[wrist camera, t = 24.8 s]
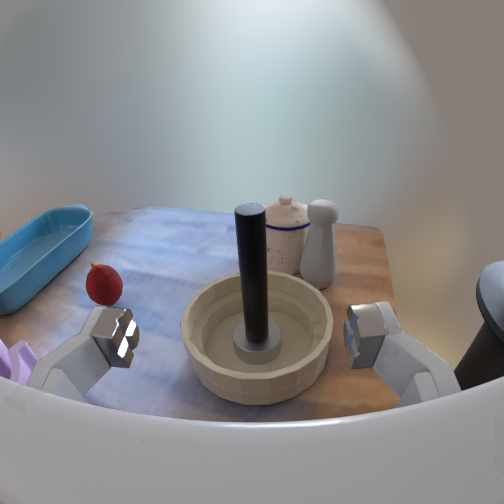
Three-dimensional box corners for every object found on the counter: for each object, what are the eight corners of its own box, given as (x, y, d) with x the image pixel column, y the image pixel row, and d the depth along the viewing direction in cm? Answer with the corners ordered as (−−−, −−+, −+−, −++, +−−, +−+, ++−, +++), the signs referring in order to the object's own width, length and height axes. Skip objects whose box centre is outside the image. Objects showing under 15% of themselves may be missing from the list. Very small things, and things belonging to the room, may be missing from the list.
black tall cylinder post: (280, 328, 37) (281, 195, 27) (282, 364, 32) (286, 223, 22) (235, 329, 37) (220, 197, 27) (232, 365, 32) (212, 225, 23)
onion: (121, 287, 46) (107, 246, 42) (133, 305, 42) (118, 262, 38) (91, 302, 43) (74, 261, 39) (101, 322, 39) (81, 279, 35)
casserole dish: (0, 343, 34) (-21, 311, 30) (-35, 308, 40) (-50, 282, 36) (117, 233, 63) (109, 204, 59) (62, 226, 69) (54, 202, 65)
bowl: (316, 302, 41) (320, 268, 38) (335, 403, 28) (346, 373, 24) (201, 305, 42) (194, 271, 39) (181, 405, 28) (166, 375, 25)
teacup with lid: (310, 247, 54) (313, 186, 48) (313, 277, 46) (318, 209, 40) (245, 246, 55) (240, 186, 49) (237, 276, 48) (231, 209, 41)
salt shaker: (326, 298, 42) (335, 216, 35) (292, 285, 45) (294, 206, 38) (340, 277, 46) (350, 200, 39) (309, 266, 49) (312, 192, 42)
